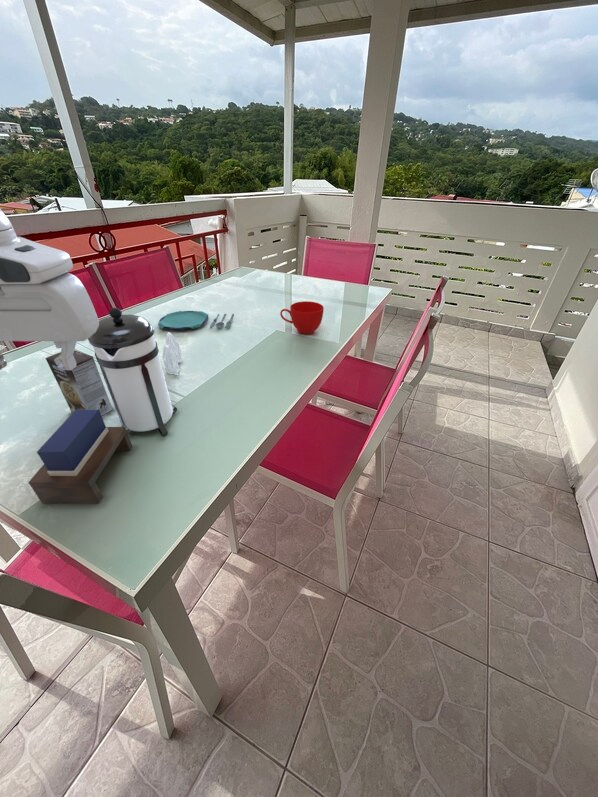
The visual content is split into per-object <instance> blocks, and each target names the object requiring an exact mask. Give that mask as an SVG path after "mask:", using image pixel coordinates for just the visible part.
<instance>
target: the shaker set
mask: <svg viewBox="0 0 598 797" xmlns="http://www.w3.org/2000/svg"><path fill="white" fill-rule="evenodd" d="M165 337H166V338H165V345H164V346H163V349H162V360H163V364H164V367H165V370H166V373H167V374H168V375H175V377H176V376H180V374H179V373H180V370H181V369H180V366H179V363H182V361H183V355H182V352H181V348H180V345H179V342H178V341H177V339H176V338H175V337H174V335H173V334H172V333H171V332H167V333H166V336H165Z"/></svg>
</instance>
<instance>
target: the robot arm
mask: <svg viewBox="0 0 598 797" xmlns="http://www.w3.org/2000/svg"><path fill="white" fill-rule="evenodd" d="M73 268H74V264H73V260H72V258H71V256H70V254H69V253H68V252H66V251H64V250H61V249H58V248H55V247H52V246H48V245H45V244H42V243H39V242H36V241H33V240H31V239H27V238H26V237H22V236H18V235H17V233H16V231H15V229H14V225H13V224H12V222H11V221H10V219H9V218H8V216H7V215H6V214H5V212H4V211H3V210H2V208H1V207H0V342H53V344H54V346H55V348H56V349H60V352H61V355H59V357H57V358H56V359H54V361H55V363H56V365H58V369H59V370H73V369H74V368H75V367H76V364H77V363H76V361H75V358H74V356H73V353H74V350H75V349H76V345H77V342H85V341H88V338H89V337H91V336H92V335H93V334H94V333H95V332H96V331H97V329H98V327H99V321H100V320H99V317H98V315H97V312H96V309H95V307H94V304H93V301H92V300H91V297H90V295H89V293H88V291H87V289H86V287H85V286H84V284H83V282H82V281H81V280H80V278H78V277H77V276H76V275H74V274H72V273H70V271H71V270H73ZM7 365H8V362H7V360H6V359H5V356H4V355H3V353H2V352H1V353H0V371H2V370H3V369H4V368H7Z"/></svg>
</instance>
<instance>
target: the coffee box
mask: <svg viewBox="0 0 598 797" xmlns="http://www.w3.org/2000/svg"><path fill="white" fill-rule="evenodd" d="M59 355H61V351H60V352H56V353H55V354H52V355H49V356H47V357H45V360H46V362H47V364H48V366H49V369H50V370H51V373H52V375H53V377H54V380H55V381H56V384H57V385H58V387H59V390H60V391H61V393H62V396H63V397H64V400H65V402H66V404H67V406H68V408H69V410H70V412H72V413H73V412H74V411H75V410H99V412H100V414H101V416H102V417H103V415H105V414H107V413H109V412H111V411H112V410H113V406H112V403H111V401H110V398H109V396H108V393H107V390H106V388H105V385H104V382H103V379H102V376H101V374H100V371H99V369H98V367H97V364H96V361H95V357H94V356H92V355H90V354H87V353H84V352H81V351H79V350H75V349H74V353H73V356H74V358H75V361H76V363H77V364H76V367H75V368H74V369H73V370H59V369H58V365H56V363H55V361H54V359H56V358H57V357H59Z"/></svg>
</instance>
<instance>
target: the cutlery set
mask: <svg viewBox="0 0 598 797" xmlns="http://www.w3.org/2000/svg"><path fill="white" fill-rule="evenodd" d="M218 317H220V314H219V313H218V314H217V315H216V317H215V318H213V321H212V322H211V324H210V325H209V328H210V329H213V326H214V325H215V327H216V328H219V329H220V328H223V327H224V326H225V327H224V329H229V328H230V327H231V326H232V321H233V319H234V317H235V313H232V314H231V316H230V318H229V320H228V321H227V322H226V323H225V322H224V320H225V318H226V317H227V313H224V314H223V316H222V319H221V321H220V322H217V321H218ZM208 321H209V314H208V313H207V312H204V311H202V310H198V311H197V310H183V311H182V310H178V311H174V312H170V313H167V314H166V315H164V316H162V317H161V318H160V319H159V321H158V324H157V326H158V328H160V329H162V330H163V328H165V329H169V330H188V329H192V330H194V329H197V328H201V327H202V325H204V324H205V323H207V322H208ZM215 323H216V324H215Z"/></svg>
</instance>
